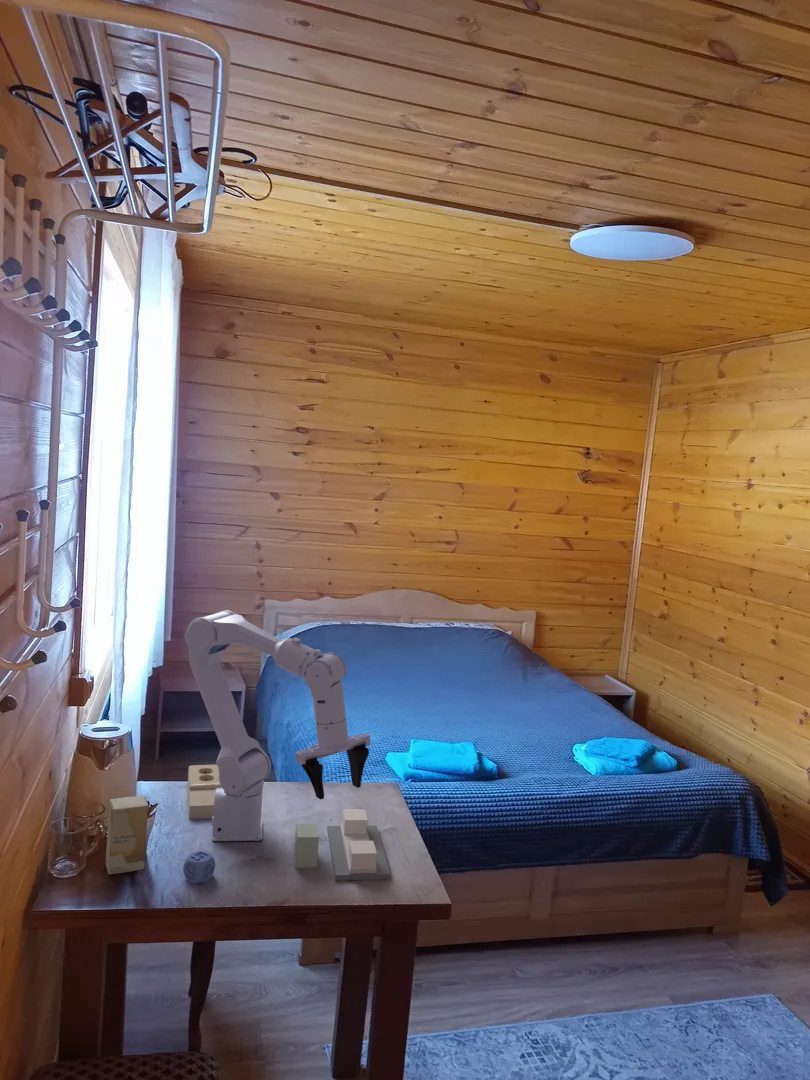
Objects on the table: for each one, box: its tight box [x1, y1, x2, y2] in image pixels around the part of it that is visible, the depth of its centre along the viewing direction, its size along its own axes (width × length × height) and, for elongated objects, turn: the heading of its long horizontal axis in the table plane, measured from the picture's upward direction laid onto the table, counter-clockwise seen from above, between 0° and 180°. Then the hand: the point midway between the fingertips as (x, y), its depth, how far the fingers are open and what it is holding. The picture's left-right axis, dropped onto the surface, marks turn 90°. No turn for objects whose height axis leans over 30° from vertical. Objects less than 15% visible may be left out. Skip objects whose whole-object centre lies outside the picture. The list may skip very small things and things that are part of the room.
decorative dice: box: [182, 850, 216, 885], centre depth 138 cm, size 4×4×4 cm
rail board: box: [327, 808, 391, 881], centre depth 150 cm, size 10×18×5 cm, turn 10°
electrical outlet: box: [187, 763, 222, 820], centre depth 168 cm, size 7×4×18 cm
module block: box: [293, 823, 320, 869], centre depth 147 cm, size 4×5×6 cm
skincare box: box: [105, 795, 149, 875], centre depth 139 cm, size 6×4×12 cm
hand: (338, 791), depth 146 cm, fingers open, 7 cm apart
